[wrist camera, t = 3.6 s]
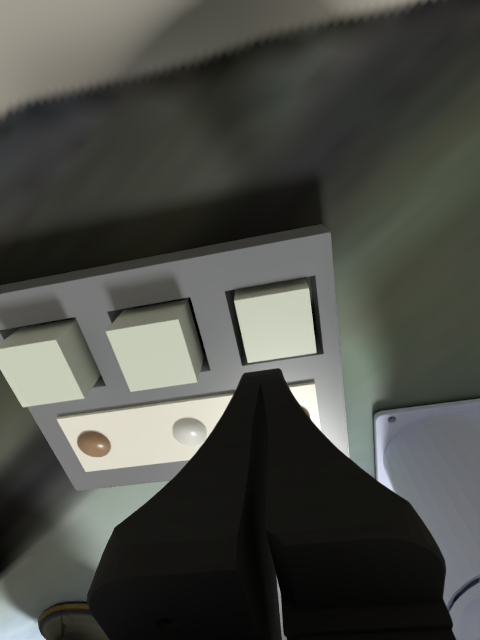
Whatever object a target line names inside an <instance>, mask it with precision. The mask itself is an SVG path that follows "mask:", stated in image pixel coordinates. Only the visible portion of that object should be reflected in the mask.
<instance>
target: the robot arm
mask: <svg viewBox="0 0 480 640" xmlns="http://www.w3.org/2000/svg"><path fill="white" fill-rule="evenodd" d="M389 417H393V418H390V419H388V418H389ZM374 441H375V467H376V479H375V478H373V477H372V476H371V475H369V474H368V473H367V472H365V471H364V470H363V469H361V468H360V467H359V466H358V465H357V464H355V463H354V462H353V461H352V460H351V459H350V458H348V457H347V456H346V455H345V454H344V453H343V452H341V451H340V450H339V449H338V448H337V447H336V446H335V445H334V444H333V443H332V442H331V441H330V440H329V439H328V438H327V437H326V436H325V435H324V434H323V433H322V432H321V431H320V429H319V428H318V427H317V426H316V425H315V424H314V423H313V421H312V420H311V419H310V418H309V416H308V415H307V414H306V413H305V411H304V410H303V408H302V407H301V406H300V404H299V403H298V401H297V400H296V398H295V397H294V395H293V394H292V392H291V390H290V388H289V387H288V385H287V383H286V381H285V378H284V376H283V373H282V370H281V369H279V368H276V369H268V370H261V371H254V372H247V373H244V374H243V375H242V376H241V379H240V381H239V383H238V386H237V388H236V390H235V392H234V394H233V396H232V398H231V400H230V402H229V404H228V406H227V407H226V409H225V411H224V413H223V415H222V416H221V418H220V419H219V421H218V422H217V424H216V426H215V427H214V429H213V430H212V432H211V433H210V435H209V436H208V438H207V439H206V440H205V442H204V443H203V444H202V446H201V447H200V448H199V449H198V451H197V452H196V453H195V455H194V456H193V457H192V458H191V459H190V460H189V461H188V463H187V464H186V465H185V466H184V467H183V468H182V469H181V470H180V472H179V473H178V474H177V475H176V476H175V477H174V478H173V479H172V480H171V481H170V482H169V483H168V484H167V485H166V486H164V487H163V488H162V489H161V490H160V491H159V492H158V493H157V494H156V495H155V496H153V497H152V498H151V499H150V500H149V501H148V502H147V503H145V504H144V505H143V506H142V507H140V508H139V509H138V510H137V511H135V512H134V513H133V514H132V515H130V516H129V517H128V518H126V519H125V520H124V521H123V522H121V523H120V524H119V525H117V526H116V527H115V528H114V530H113V533H112V535H111V537H110V539H109V541H108V543H107V545H106V547H105V550H104V552H103V555H102V557H101V560H100V562H99V565H98V568H97V570H96V573H95V576H94V578H93V581H92V584H91V586H90V589H89V592H88V594H87V604H88V607H89V609H90V611H91V613H92V615H93V617H94V619H95V620H96V621H97V623H98V624H99V626H100V627H101V628H102V630H103V631H104V633H105V634H106V635H107V637H108V638H109V640H282V637H281V626H280V614H279V602H278V591H277V579H278V583H279V587H280V591H281V601H282V616H283V630H284V635H285V636H286V637H287V640H480V399H472V400H464V401H456V402H448V403H440V404H432V405H424V406H416V407H408V408H400V409H392V410H384V411H379V412H377V413H376V414H375V415H374ZM276 575H277V579H276Z"/></svg>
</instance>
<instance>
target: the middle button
mask: <svg viewBox="0 0 480 640" xmlns="http://www.w3.org/2000/svg"><path fill="white" fill-rule="evenodd" d="M106 334H107V336H108V338H109V341H110V343H111V346H112V348H113V351H114V353H115V355H116V358H117V360H118V363H119V365H120V368H121V370H122V372H123V375H124V377H125V380H126V382H127V385H128V387H129V389H130V392H134V391H141V390H148V389H155V388H162V387H169V386H176V385H183V384H190V383H197V382H198V379H199V375H200V371H201V367H202V363H203V358H204V355H203V351H202V348H201V344H200V341H199V337H198V334H197V330H196V327H195V323H194V320H193V316H192V312H191V309H190V305H189V302H188V299H185V300H179V301H174V302H168V303H162V304H156V305H150V306H145V307H139V308H133V309H127V310H123V311H122V313H121V314H120V315H119V316H118V317H117V318H116V320H115V321H114V322H113V323H112V324H111V326H110V327H109V328H108V329H107V330H106Z"/></svg>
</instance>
